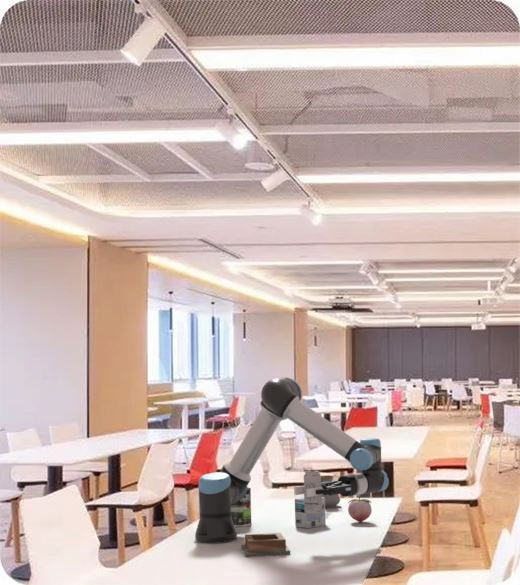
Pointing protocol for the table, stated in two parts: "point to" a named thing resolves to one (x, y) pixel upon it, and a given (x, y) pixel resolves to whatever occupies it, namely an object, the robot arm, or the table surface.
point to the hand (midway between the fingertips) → (301, 492)
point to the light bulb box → (307, 521)
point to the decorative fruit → (359, 509)
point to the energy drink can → (313, 503)
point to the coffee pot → (329, 500)
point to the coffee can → (242, 510)
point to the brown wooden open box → (265, 545)
